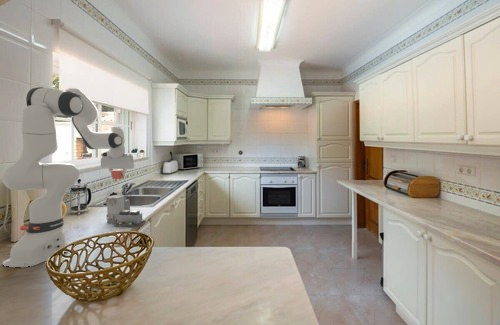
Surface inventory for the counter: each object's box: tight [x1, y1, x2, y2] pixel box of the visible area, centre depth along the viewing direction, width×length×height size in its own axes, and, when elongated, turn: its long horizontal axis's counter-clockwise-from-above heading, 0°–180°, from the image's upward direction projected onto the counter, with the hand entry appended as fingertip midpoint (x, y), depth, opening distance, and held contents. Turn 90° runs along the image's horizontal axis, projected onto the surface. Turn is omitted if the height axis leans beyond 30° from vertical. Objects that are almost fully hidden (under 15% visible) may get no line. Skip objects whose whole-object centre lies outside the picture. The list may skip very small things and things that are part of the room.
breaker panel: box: [113, 212, 146, 228], centre depth 151 cm, size 12×12×6 cm
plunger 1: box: [120, 209, 131, 215], centre depth 151 cm, size 4×4×6 cm
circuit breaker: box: [105, 194, 131, 224], centre depth 160 cm, size 8×14×15 cm, turn 174°
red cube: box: [111, 169, 125, 180], centre depth 158 cm, size 5×5×5 cm
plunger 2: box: [129, 209, 141, 215], centre depth 151 cm, size 4×4×6 cm
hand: (118, 175), depth 158 cm, fingers closed on red cube, 5 cm apart
